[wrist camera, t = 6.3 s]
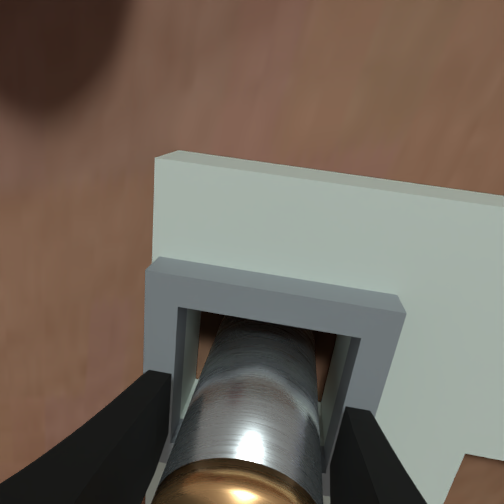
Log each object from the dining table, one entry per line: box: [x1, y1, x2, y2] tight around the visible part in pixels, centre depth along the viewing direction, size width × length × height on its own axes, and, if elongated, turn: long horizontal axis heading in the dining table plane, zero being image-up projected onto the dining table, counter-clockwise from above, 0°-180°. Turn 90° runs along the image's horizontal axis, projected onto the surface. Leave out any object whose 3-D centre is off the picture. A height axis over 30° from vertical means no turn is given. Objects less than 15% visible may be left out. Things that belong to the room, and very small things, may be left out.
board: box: [143, 150, 504, 504], centre depth 12 cm, size 18×16×3 cm
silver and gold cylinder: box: [151, 315, 323, 504], centre depth 10 cm, size 4×4×7 cm
